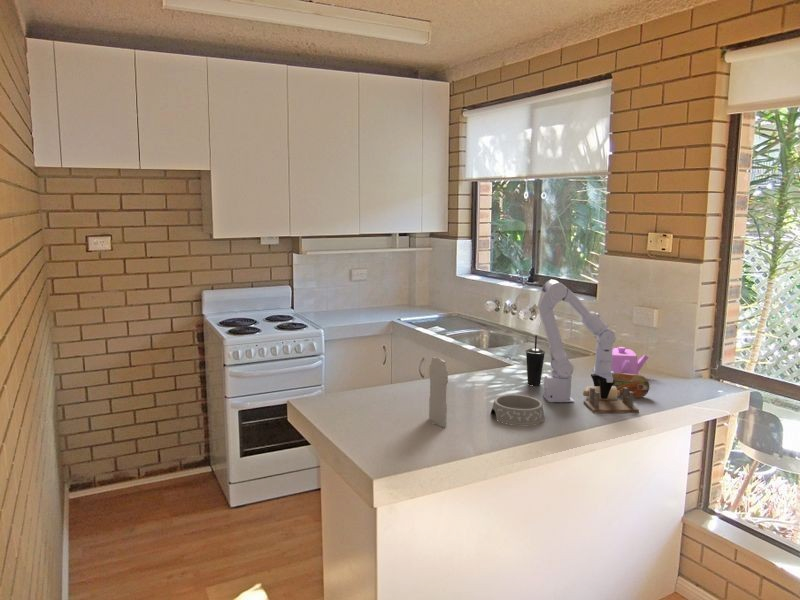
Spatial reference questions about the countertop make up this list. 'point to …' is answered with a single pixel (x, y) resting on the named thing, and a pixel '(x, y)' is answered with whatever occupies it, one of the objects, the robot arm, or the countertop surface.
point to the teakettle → (626, 361)
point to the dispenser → (438, 392)
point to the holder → (611, 403)
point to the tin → (631, 383)
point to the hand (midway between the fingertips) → (601, 395)
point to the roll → (611, 396)
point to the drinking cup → (534, 364)
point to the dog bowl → (518, 410)
